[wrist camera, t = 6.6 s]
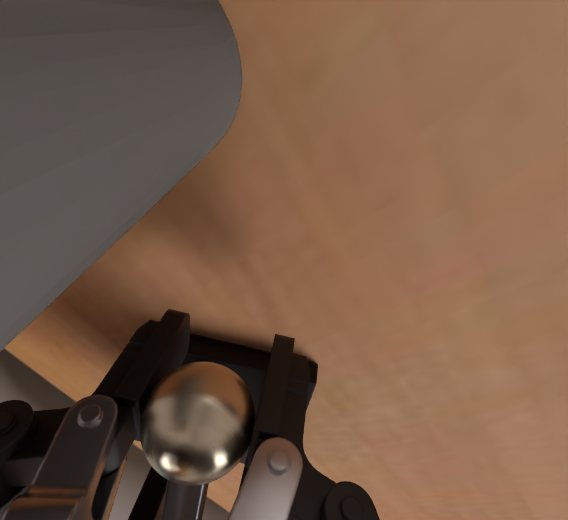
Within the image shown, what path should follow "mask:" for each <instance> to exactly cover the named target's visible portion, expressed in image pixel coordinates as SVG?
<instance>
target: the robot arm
mask: <svg viewBox="0 0 568 520" xmlns="http://www.w3.org/2000/svg"><path fill="white" fill-rule="evenodd" d="M294 340H295V338H291V337H287V336H282V335H278V334H275V338H274V343H273V347H272V351H271V355H270V360H269V364H268V368H267V373H266V377H265V381H264V386H263V390H262V394H261V398H260V403H259V407H258V411H257V416H256V420H255V424H254V428H253V433H252V438H251V442H250V447H249V452H248V456H247V461H246V465H245V467H246V468H249V469H248V472H247V474H246V476H245V479H244V481H243V483H242V486H241V488H240V491H239V493H238V495H237V498H236V500H235V502H234V505H233V507H232V509H231V512H230V514H229V517H228V519H227V520H380V519H379V517H378V514H377V511H376V509H375V506H374V504H373V502H372V500H371V498H370V496H369V495H368V494H367V492H366V491H365V490H364V489H363V488H361V487H360V486H359V485H357V484H355V483H352V482H347V481H344V482H339V483H335V482H334V481H332V480H331V479H329V478H328V477H326V476H324V475H323V474H321V473H320V472H319V471H317V470H316V469H315V468H314V467H313V466H312V465H311V464H310V462H309V461H308V459H307V457H306V455H305V453H304V449H303V433H304V423H305V414H306V405H307V395H308V385H309V377H310V367H309V364H308V361H307V358H306V356H302V355H297V354H293V353H292V352H293V346H294ZM189 342H190V315H189V313H184V312H180V311H176V310H171V309H168V310H167V311H166V313H165V314H164V316H163V317H162V319H161V321H160V322H157V321H153V320H150V321H148V322H147V323H146V324H144V325H143V326H141V327H140V328H139V329H137V331H136V332H135V334H134V335H133V337H132V338H131V340H130V342H129V343H128V344H127V345H126V347H125V348H124V350H123V352H122V353H121V354H120V356H119V357H118V359H117V360H116V361H115V363H114V364H113V366H112V367H111V369H110V370H109V372H108V373H107V375H106V376H105V377H104V379H103V380H102V382H101V383H100V385H99V386H98V388H97V389H96V390H95V392H94V393H93V394H92V395H91V396H88V397H85V398H83V399H81V400H79V401H78V402H76V403H75V404H74V405H73V406H72V407H69V408H64V409H55V410H42V411H33V410H32V408H31V406H30V405H29V404H28V403H26V402H24V401H20V400H11V401H5V402H2V403H0V520H108V519H109V516H110V512H111V509H112V506H113V503H114V499H115V496H116V493H117V489H118V486H119V483H120V480H121V477H122V473H123V470H124V467H125V464H126V460H127V453H128V451H129V449H130V447H131V445H132V443H133V441H134V440H137V441H141V439H140V420H141V415H142V411H143V408H144V405H145V403H146V400H147V398H148V397H149V395H150V393H151V391H152V390H153V388H154V387H155V386H156V385H157V384H158V382H159V381H160V380H161V379H162V378H164V377H165V376H166V375H167V374H168V373H170V372H171V371H173V370H175V369H177V368H179V367H181V365H182V363H183V361H184V359H185V357H186V354H187V351H188V348H189Z"/></svg>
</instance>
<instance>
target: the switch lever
mask: <svg viewBox="0 0 568 520" xmlns="http://www.w3.org/2000/svg"><path fill="white" fill-rule="evenodd" d="M254 424H255V407H254V402H253V398H252V395H251V393H250V391H249V389H248V387H247V385H246V384H245V382H244V381H243V380H242V379H241V377H240V376H238V375H237V374H236V373H235V372H234V371H232V370H231V369H229V368H227V367H225V366H223V365H221V364H217V363H213V362H204V361H203V362H194V363H189V364H186V365H183V366H181V367H179V368H177V369H175V370H173V371H171V372H170V373H168V374H167V375H166V376H165V377H164V378H162V379H161V380H160V381H159V382H158V384H157V385H156V386H155V387H154V388H153V390H152V391H151V393H150V395H149V397H148V398H147V400H146V403H145V405H144V408H143V411H142V415H141V420H140V439H141V444H142V448H143V451H144V454H145V456H146V458H147V460H148V461H149V463H150V464H151V466H152V467H153V468H154V469H155V470H156V471H157V472H158V473H159V474H160V475H161V476H163V477H164V478H166V479H168V480H167V487H166V494H165V500H164V507H163V513H162V520H202V514H203V510H204V504H205V499H206V494H207V489H208V484H209V483H210V482H212V481H215V480H217V479H219V478H220V477H222V476H224V475H226V474H227V473H228V472H229V471H231V470H232V469H233V468H234V467H235V466H236V465H237V464H238V463H239V461H240V460H241V459H242V457H243V456H244V455H245V453H246V451H247V449H248V447H249V445H250V442H251V438H252V433H253V428H254Z"/></svg>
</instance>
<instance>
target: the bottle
mask: <svg viewBox="0 0 568 520" xmlns="http://www.w3.org/2000/svg"><path fill="white" fill-rule="evenodd" d="M241 86H242V70H241V61H240V55H239V50H238V45H237V42H236V39H235V36H234V33H233V30H232V27H231V25H230V23H229V21H228V19H227V17H226V15H225V13H224V11H223V9H222V7H221V5H220V3H219V2H218V0H0V351H1V350H2V349H3V348H4V347H5V346H6V345H8V344H9V343H10V342H11V341H12V340H13V339H14V338H15V337H16V336H17V335H18V334H19V333H20V332H21V331H22V330H23V329H24V328H25V327H27V326H28V325H29V324H30V323H31V322H32V321H33V320H34V319H35V318H36V317H37V316H38V315H39V314H40V313H41V312H42V311H43V310H44V309H46V308H47V307H48V306H49V305H50V304H51V303H52V302H53V301H54V300H55V299H56V298H57V297H58V296H59V295H60V294H61V293H62V292H63V291H65V290H66V289H67V288H68V287H69V286H70V285H71V284H72V283H73V282H74V281H75V280H76V279H77V278H78V277H79V276H80V275H81V274H82V273H84V272H85V271H86V270H87V269H88V268H89V267H90V266H91V265H92V264H93V263H94V262H95V261H96V260H97V259H98V258H99V257H100V256H102V255H103V254H104V253H105V252H106V251H107V250H108V249H109V248H110V247H111V246H112V245H113V244H114V243H115V242H116V241H117V240H118V239H119V238H121V237H122V236H123V235H124V234H125V233H126V232H127V231H128V230H129V229H130V228H131V227H132V226H133V225H134V224H135V223H136V222H137V221H138V220H140V219H141V218H142V217H143V216H144V215H145V214H146V213H147V212H148V211H149V210H150V209H151V208H152V207H153V206H154V205H155V204H156V203H157V202H158V201H159V200H160V199H161V198H163V197H164V196H165V195H166V194H167V193H168V192H169V191H170V190H171V189H172V188H173V187H174V186H175V185H176V184H177V183H178V182H179V181H180V180H181V179H182V178H183V177H184V176H185V175H186V174H187V173H189V172H190V171H191V170H192V169H193V168H194V167H195V166H196V165H197V164H198V163H199V162H200V161H201V160H202V159H203V158H204V157H205V156H206V155H207V154H208V153H209V152H210V151H211V150H212V149H213V148H214V147H215V146H216V145H217V144H218V142H219V141H220V140H221V139H222V138H223V136H224V135H225V134H226V132H227V131H228V129H229V128H230V126H231V124H232V122H233V120H234V118H235V114H236V111H237V108H238V105H239V101H240V96H241Z"/></svg>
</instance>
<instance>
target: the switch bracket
mask: <svg viewBox="0 0 568 520" xmlns="http://www.w3.org/2000/svg"><path fill="white" fill-rule="evenodd" d="M270 355H271V353H268V352H264V351H260V350H256V349H251V348H247V347H243V346H239V345H234V344H230V343H226V342H222V341H217V340H213V339H209V338H205V337H200V336H196V335H192V334H190V342H189V348H188V351H187V354H186V357H185V359H184V361H183V363H182V365H181V366H183V365H186V364H189V363H194V362H203V361H204V362H213V363H217V364H221V365H223V366H225V367H227V368H229V369H231V370H232V371H234V372H235V373H236V374H237V375H238V376H240V377H241V379H242V380H243V381H244V382H245V384H246V385H247V387H248V389H249V391H250V393H251V395H252V398H253V402H254V407H255V420H256V416H257V411H258V407H259V403H260V398H261V394H262V390H263V386H264V381H265V377H266V373H267V368H268V364H269V360H270ZM308 364H309V367H310V377H309V385H308V395H307V405H306V410H307V407H308V405H309V402H310V399H311V397H312V394H313V391H314V388H315V386H316V382H317V371H318V364H315V363H311V362H308ZM249 447H250V445H249ZM249 447H248V449H247V451H246V453H245V455H244V456H243V457H242V459H241V460H240V461H239V462H240V463H244V464H245V465H246V461H247V456H248V452H249ZM248 469H249V468H246V467H245V466H244V471H243V475H242V479H241V483H240V488H241V486H242V483H243V481H244V479H245V476H246V474H247V472H248ZM167 480H168V479H166V478H164V477H163V476H161V475H160V474H159V473H158V472H157V471H156V470H155V469H154V468H153V467H152V466H151V469H150V471H149V473H148V475H147V478H146V480H145V482H144V485H143V487H142V489H141V492H140V494H139V496H138V498H137V500H136V503H135V505H134V507H133V509H132V512H131V514H130V516H129V518H128V520H162V513H163V507H164V500H165V494H166V487H167ZM240 488H239V491H240ZM238 493H239V492H238Z"/></svg>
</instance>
